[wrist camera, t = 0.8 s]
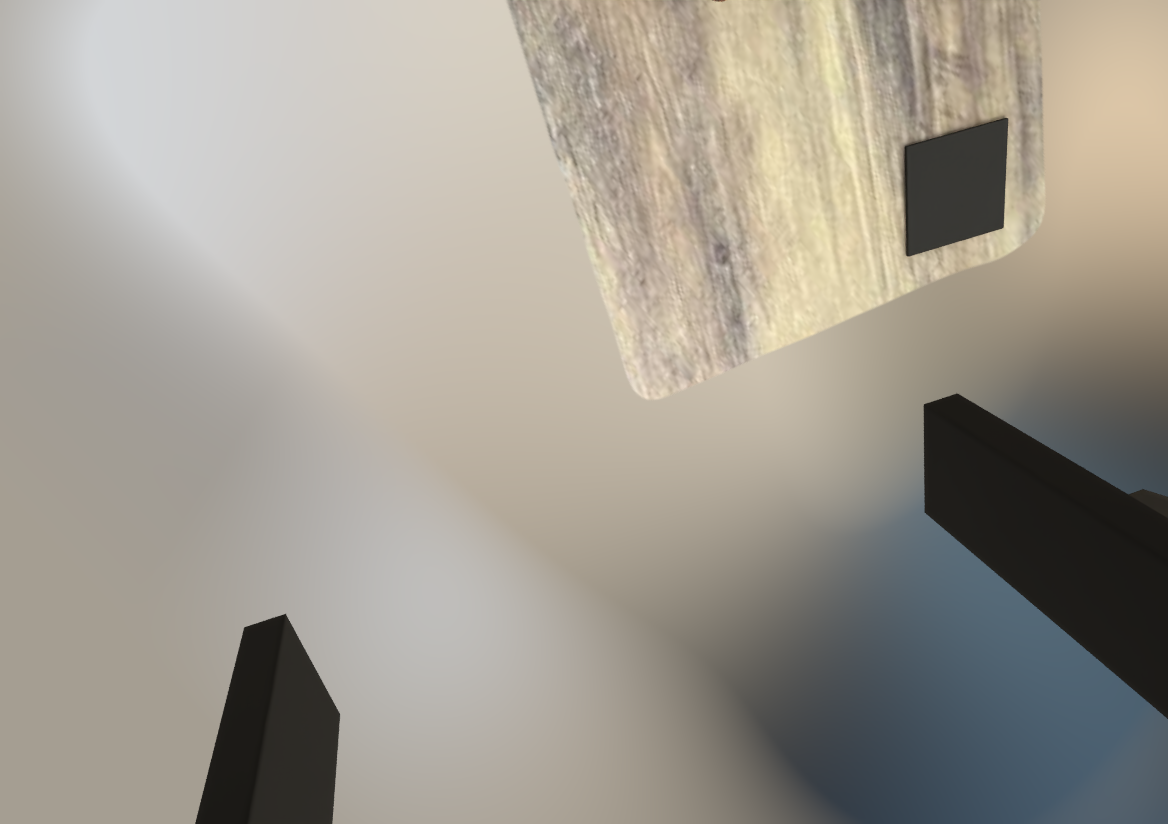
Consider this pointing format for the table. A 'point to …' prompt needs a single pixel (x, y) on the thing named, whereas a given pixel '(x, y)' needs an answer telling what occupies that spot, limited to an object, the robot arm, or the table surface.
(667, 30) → the table surface
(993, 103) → the table surface
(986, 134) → the mat
